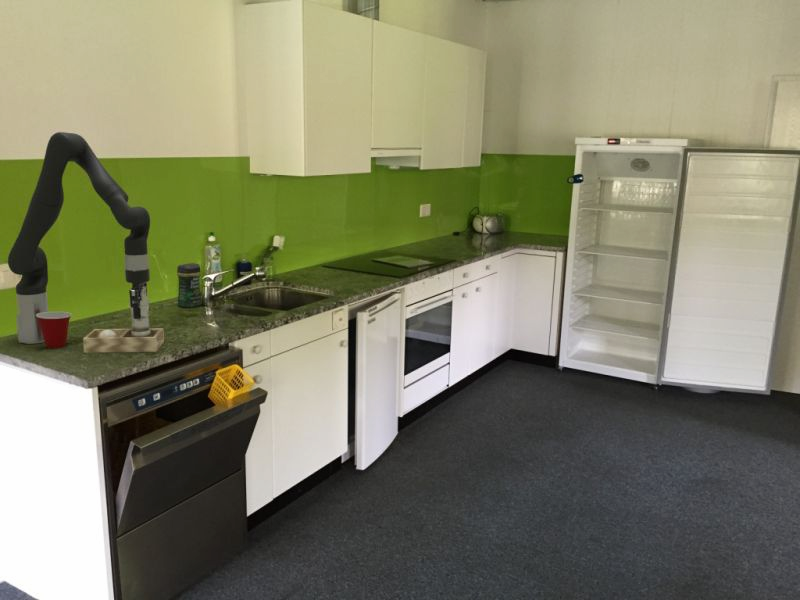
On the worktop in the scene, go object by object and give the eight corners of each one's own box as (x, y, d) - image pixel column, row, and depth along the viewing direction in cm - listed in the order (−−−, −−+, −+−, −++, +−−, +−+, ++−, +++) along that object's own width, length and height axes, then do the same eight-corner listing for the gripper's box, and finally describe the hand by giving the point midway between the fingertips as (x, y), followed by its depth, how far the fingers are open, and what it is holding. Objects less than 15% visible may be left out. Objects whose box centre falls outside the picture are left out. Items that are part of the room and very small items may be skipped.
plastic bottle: (130, 346, 225) (127, 288, 221) (132, 341, 232) (129, 284, 227) (151, 345, 227) (147, 287, 223) (152, 340, 233) (149, 283, 229)
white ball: (96, 349, 225) (95, 332, 224) (101, 344, 231) (100, 327, 229) (115, 349, 226) (113, 332, 224) (119, 344, 231) (118, 327, 230)
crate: (84, 354, 222) (82, 338, 220) (95, 344, 233) (94, 329, 232) (156, 353, 225) (155, 337, 224) (164, 343, 236) (163, 328, 235)
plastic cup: (81, 346, 230) (78, 312, 228) (50, 354, 221) (46, 318, 219) (63, 341, 236) (60, 308, 234) (32, 348, 227) (29, 313, 225)
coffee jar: (187, 309, 286) (185, 266, 282) (175, 306, 290) (173, 264, 286) (205, 305, 294) (203, 263, 290) (193, 302, 298) (191, 261, 294)
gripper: (130, 263, 230) (133, 311, 234) (119, 271, 216) (122, 321, 220) (153, 263, 231) (156, 311, 235) (143, 271, 217) (146, 321, 221)
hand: (139, 316), depth 227 cm, fingers closed on plastic bottle, 6 cm apart
